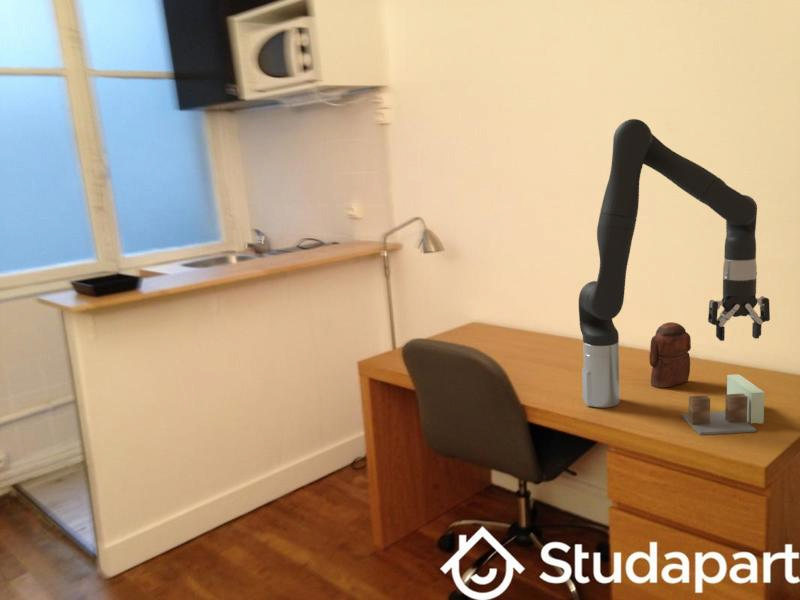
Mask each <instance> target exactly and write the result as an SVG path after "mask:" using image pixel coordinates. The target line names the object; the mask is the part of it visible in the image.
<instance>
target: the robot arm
mask: <svg viewBox="0 0 800 600" xmlns="http://www.w3.org/2000/svg"><path fill="white" fill-rule="evenodd" d="M613 134H614V135H613V139H612V140H613V142H612V154H611V155H612V156H611V165H610V173H609V178H608V181H607V184H606V188H605V192H604V196H603V199H602V203H601V208H600V213H599V217H598V223H597V229H596V239H597V240H596V241H597V248H598V253H599V255H598V257H599V271H598V274H597V278H596V280H593V281H590V282H588V283H586V284H585V285H584V286H583V287H582V288H581V290H580V292H579V296H578V316H579V320H578V321H579V329H580V332H581V334H582V345H583V348H582V349H583V350H582V351H583V352H582V355H583V366H582V367H581V381H582V385H581V387H582V388H581V389H582V400H583V402H584V404H585V405H586V407H594V408H612V407H616V406H618V405H619V404H620V398H621V397H620V352H619V351H620V350H619V349H620V347H619V346H620V345H619V344H620V343H619V342H620V341H619V336H620V335H619V331H618V330H617V327H616V326H615V324H614V322H613V319H614V318H616V317H617V316H618V315H619V314H620V312H621V311H622V309H623V305H624V300H625V289H626V277H627V268H628V265H629V264H628V263H629V258H630V253H631V247H632V241H633V237H634V233H635V229H636V223H637V219H638V212H639V202H640V181H641V179H640V178H641V173H642V169H643V166H644V165H645V166H647V167H648V168H650V169H652V170H654V171H656V172H658V173H659V174H661V175H662V176H663V177H665V178H666V179H667V180H669V181H670V182H672V183H673V184H675V185H676V186H677V187H678V188H680V189H681V190H682V191H684V192H686V193H687V194H689V195H690V196H692V197H693V198H694V199H695V200H698V201H699V202H701V203H702V204H703V205H706V206H707V207H709V208H710V209H711V210H712V211H714V212H715V213H716V214H717V215H719V216H720V217H721V218H723V219H724V220H725V226H726V227H725V229H726V230H725V232H726V233H725V234H726V235H725V240H724V253H723V254H724V256H723V257H724V261H723V265H722V266H723V267H722V269H723V270H722V299H721V300H714V299H711V300H709V303H708V318H707V322H708V323H710V324H711V325H713V326H715V336H716V338H717V339H718V341H720V342H724V341H725V339H726V338H725V333H726V331H725V330H726V329H725V328H726V326H725V324H726V323H727V322H728V321H729V320H730V319H731V318H732V317H733V318H738V317H747V316H749V317H750V319H751V320H752V321H753V322H752V328H751V330H752V332H751V333H752V338H753V339H755V340H757V339H760V337H762V324H763V323H765V322H769V321H770V320H771V315H770V311H771V310H770V299H769V298H768V297H765V296H760V297H758V298H757V297H756V295H757V276H758V271H757V268H758V266H757V259H756V258H757V242H756V241H757V238H756V230H757V229H756V228H757V216H758V215H757V213H758V204H757V202H756V201H755V200H754V198H752V196H749V195H747V194H742V193H740V192H738V191H737V190H736V189H734V188H733V187H731V186H729V185H727V183H726V182H725V181H724V180H723V179H721V178H720V177H718V175H715V174H714V173H713V172H711V171H710V170H708V169H706V168H704V167H703V166H701V165H699V164H698V163H696V162H694V161H692V160H690V159H688V158H687V157H684V156H682V155H680V154H678V153H677V152H675V151H674V150H672V149H671V148H670V147H668V146H667V145H665V143H663V142H661V140H660V139H658V138H657V136H655V135H654V134H653V133H652V130H651V128H650V127H649V126H648V124H646V123H645V122H644V121H642V120H641V119H638V118H637V119H636V118H630V119H627V120H625V121H623V122H622V123H620V124H619V125H618V127H617V128H616V130H615V132H614V133H613ZM757 305H758V306H759V312H760V314H758V313H757V312H756V311H755V309H754V308H755V307H756V306H757ZM721 306H722V308H723V309H722V311H721V312H720V313H719V316H718V312H719V311H718V310H719V309H720V308H721ZM759 315H760V316H759Z"/></svg>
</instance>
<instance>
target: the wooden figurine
mask: <svg viewBox="0 0 800 600" xmlns="http://www.w3.org/2000/svg"><path fill="white" fill-rule="evenodd" d="M691 339H692V338H691V335H690V334H689V333H688V332H687V331H686V328H685V327H684V326H683V325H681V324H680V323H677V322H673V321H672V322H666V323H662V324H661V325H660V326H659V327H657V330H656V332H655V334H654V335H653V336H652V338H651V339H650V345H649V346H650V348H649V349H650V350H649V351H650V352H649V359H648V360H649V365H650V366H651V367H652V368H651V375H650V385H651V386H652V387H656V388H661V389H663V388H670V387H671V388H672V387H675V386H677V385H683V384H686V383H688V381H689V379H690V372H691V356H690V353H689V352H690V351H691V349H692V347H691V346H692V345H691V343H692V342H691Z"/></svg>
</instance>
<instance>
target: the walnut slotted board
mask: <svg viewBox="0 0 800 600" xmlns="http://www.w3.org/2000/svg"><path fill="white" fill-rule="evenodd" d="M747 404H748V397H747V396H746V395H745V394H727V393H726V394H725V405H724V406H725V409H724V410H725V411H724V412H725V419H726V420H727V421H728V422H729V423H735V422H748V421H747ZM710 412H711V398H710V397H709V396H708V395H695V396H693V395H691V396H688V414H689V422H690V423H691V424H692V425H697V424H710Z"/></svg>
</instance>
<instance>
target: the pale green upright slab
mask: <svg viewBox="0 0 800 600" xmlns="http://www.w3.org/2000/svg"><path fill="white" fill-rule="evenodd" d="M726 377H727V378H726V380H727V381H726V394H745V395H746V396H747V397H748V404H747V422H748V423H749V424H750V423H751V424H750V425H753V424H752V423H757V424H764V418H765V417H764V416H765V415H764V414H765V391H763V390H762V389H761V388H759V387H758V386H756V385H755V384H753V383H752V382H751V381H749V380H748V379H746V378H745V377H743V376H742V375H740V374H727V376H726Z"/></svg>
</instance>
